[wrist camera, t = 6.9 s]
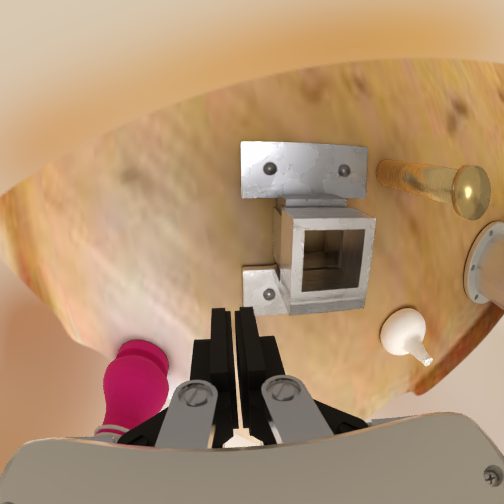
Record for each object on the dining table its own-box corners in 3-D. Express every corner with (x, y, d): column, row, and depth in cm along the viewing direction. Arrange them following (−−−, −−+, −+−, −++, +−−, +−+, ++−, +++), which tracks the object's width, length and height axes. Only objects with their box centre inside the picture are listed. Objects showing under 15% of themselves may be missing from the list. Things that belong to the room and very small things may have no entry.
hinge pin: (402, 156, 27) (492, 169, 15) (400, 191, 28) (487, 220, 16) (372, 153, 27) (460, 162, 15) (371, 190, 28) (455, 219, 16)
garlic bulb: (396, 296, 33) (428, 328, 26) (425, 314, 34) (457, 345, 27) (367, 336, 35) (391, 374, 27) (398, 351, 36) (423, 386, 28)
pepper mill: (107, 335, 30) (44, 480, 12) (166, 335, 31) (134, 501, 12) (123, 381, 33) (86, 517, 14) (177, 382, 33) (163, 530, 15)
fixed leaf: (363, 147, 27) (383, 147, 23) (356, 257, 30) (372, 271, 26) (240, 142, 25) (243, 140, 22) (241, 262, 29) (245, 278, 25)
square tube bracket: (362, 200, 28) (407, 218, 20) (350, 303, 32) (383, 344, 24) (241, 200, 27) (249, 219, 19) (243, 311, 31) (251, 361, 23)
